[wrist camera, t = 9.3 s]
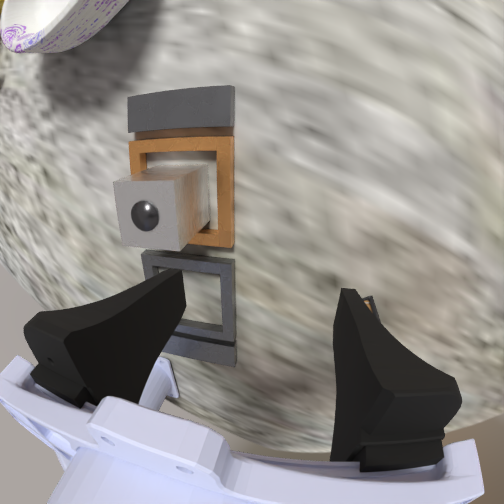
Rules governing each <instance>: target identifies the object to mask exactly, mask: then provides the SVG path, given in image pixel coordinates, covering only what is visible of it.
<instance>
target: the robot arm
mask: <svg viewBox="0 0 504 504" xmlns="http://www.w3.org/2000/svg"><path fill="white" fill-rule="evenodd" d="M185 308H186V299H185V291H184V283H183V275H182V270H178V269H168V270H165V271H163V272H161V273H159V274H157V275H155V276H153V277H151V278H149V279H147V280H145V281H143V282H142V283H140V284H138V285H136V286H134V287H131V288H129V289H127V290H125V291H123V292H121V293H119V294H116V295H114V296H111V297H109V298H106V299H103V300H100V301H97V302H94V303H90V304H86V305H83V306H79V307H74V308H69V309H63V310H54V311H43V312H39V313H37V314H36V315H35V316H34V317H33V318H32V319H31V320H30V321H29V322H28V323H27V324H25V326H24V336H25V339H26V341H27V343H28V345H29V347H30V349H31V350H32V352H33V354H34V356H35V358H36V359H37V361H38V363H39V364H38V365H37V366H36V367H34V366H33V364H32V363H30V362H29V361H27V360H26V359H24V358H23V357H21V356H19V355H17V356H16V357H15V358H14V359H13V360H12V361H11V363H9V364H8V366H7V367H6V368H5V369H4V370H3V371H2V372H1V373H0V402H1V403H2V405H3V406H4V407H5V408H6V410H7V411H8V412H9V413H10V414H11V415H12V416H13V418H14V419H15V420H16V421H17V422H19V423H20V424H21V425H22V426H23V427H25V428H26V429H27V430H29V431H30V432H31V433H32V434H33V435H35V436H36V437H37V438H39V439H40V440H41V441H42V442H44V443H45V444H46V445H48V446H49V447H50V448H52V449H53V450H54V451H55V453H56V455H57V457H58V459H59V462H60V463H61V466H62V468H63V470H64V474H63V475H62V477H61V479H60V481H59V483H58V484H57V486H56V487H55V489H54V491H53V493H52V495H51V496H50V498H49V500H48V502H47V503H46V504H467V503H469V502H471V501H473V500H474V499H476V498H478V497H480V496H481V495H483V493H484V487H483V480H482V474H481V469H480V463H479V459H478V454H477V449H476V445H475V441H474V439H468V440H464V441H459V442H454V443H450V444H448V445H446V446H444V447H442V441H441V440H443V438H444V437H445V433H444V427H445V426H446V425H447V424H448V423H449V422H450V420H451V419H452V418H453V417H454V416H455V415H456V413H457V412H458V410H459V409H460V407H461V404H462V397H461V394H460V391H459V388H458V385H457V382H456V380H455V378H454V377H452V376H450V375H448V374H446V373H444V372H442V371H440V370H438V369H436V368H434V367H433V366H431V365H430V364H428V363H426V362H425V361H423V360H422V359H420V358H419V357H417V356H416V355H415V354H413V353H412V352H411V351H410V350H408V349H407V348H406V347H405V346H403V345H402V344H401V343H400V342H399V341H398V340H397V339H396V338H395V337H394V336H392V335H391V334H390V332H389V331H388V330H387V329H386V328H385V327H384V326H383V325H382V324H381V323H380V321H379V320H378V319H377V318H376V317H375V315H374V314H373V313H372V312H371V310H370V309H369V308H368V306H367V305H366V304H365V302H364V301H363V299H362V298H361V297H360V295H359V294H358V292H357V291H356V290H355V289H348V288H341V293H340V298H339V302H338V307H337V311H336V316H335V320H334V325H333V350H334V361H335V373H336V390H337V394H336V411H335V423H334V433H333V441H332V449H331V456H330V461H309V460H295V459H286V458H277V457H269V456H262V455H255V454H249V453H244V452H238V451H233V450H230V446H229V444H228V443H227V442H226V440H225V439H224V437H223V436H222V435H221V434H220V433H218V432H216V431H215V430H213V429H211V428H210V427H207V426H205V425H202V424H199V423H197V422H194V421H191V420H187V419H184V418H180V417H176V416H173V415H169V414H166V413H163V412H160V411H159V409H160V407H161V405H162V403H163V401H164V399H165V397H166V395H167V396H171V397H174V398H178V397H179V393H178V389H177V386H176V382H175V379H174V375H173V372H172V368H171V364H170V361H169V360H168V359H166V358H162V357H159V355H160V353H161V352H162V350H163V349H164V347H165V345H166V344H167V342H168V340H169V339H170V337H171V336H172V334H173V332H174V331H175V329H176V327H177V326H178V324H179V322H180V320H181V318H182V316H183V313H184V311H185Z"/></svg>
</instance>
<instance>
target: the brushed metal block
mask: <svg viewBox="0 0 504 504" xmlns="http://www.w3.org/2000/svg"><path fill="white" fill-rule="evenodd" d="M113 185H114V194H115V201H116V208H117V215H118V221H119V228H120V233H121V239H122V245H123V246H130V247H140V248H151V249H161V250H171V251H181V250H182V249H183V248H184V247H185V245H186V244H187V243H188V242H189V241H190V240H191V239H192V238H193V237H194V236H195V235H196V234H197V233H198V232H199V231H200V230H201V229H202V228H203V227H204V226H205V225H206V224H207V223H208V222H209V221H210V203H209V179H208V164H195V165H158V166H154V167H151V168H148V169H146V170H143V171H140V172H138V173H135V174H132V175H130V176H127V177H125V178H122V179H119V180H117V181H114V182H113Z"/></svg>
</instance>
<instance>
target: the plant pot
mask: <svg viewBox="0 0 504 504" xmlns="http://www.w3.org/2000/svg"><path fill="white" fill-rule="evenodd" d="M4 1H5V0H0V14H1V13H2V8H3V4H4Z"/></svg>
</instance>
